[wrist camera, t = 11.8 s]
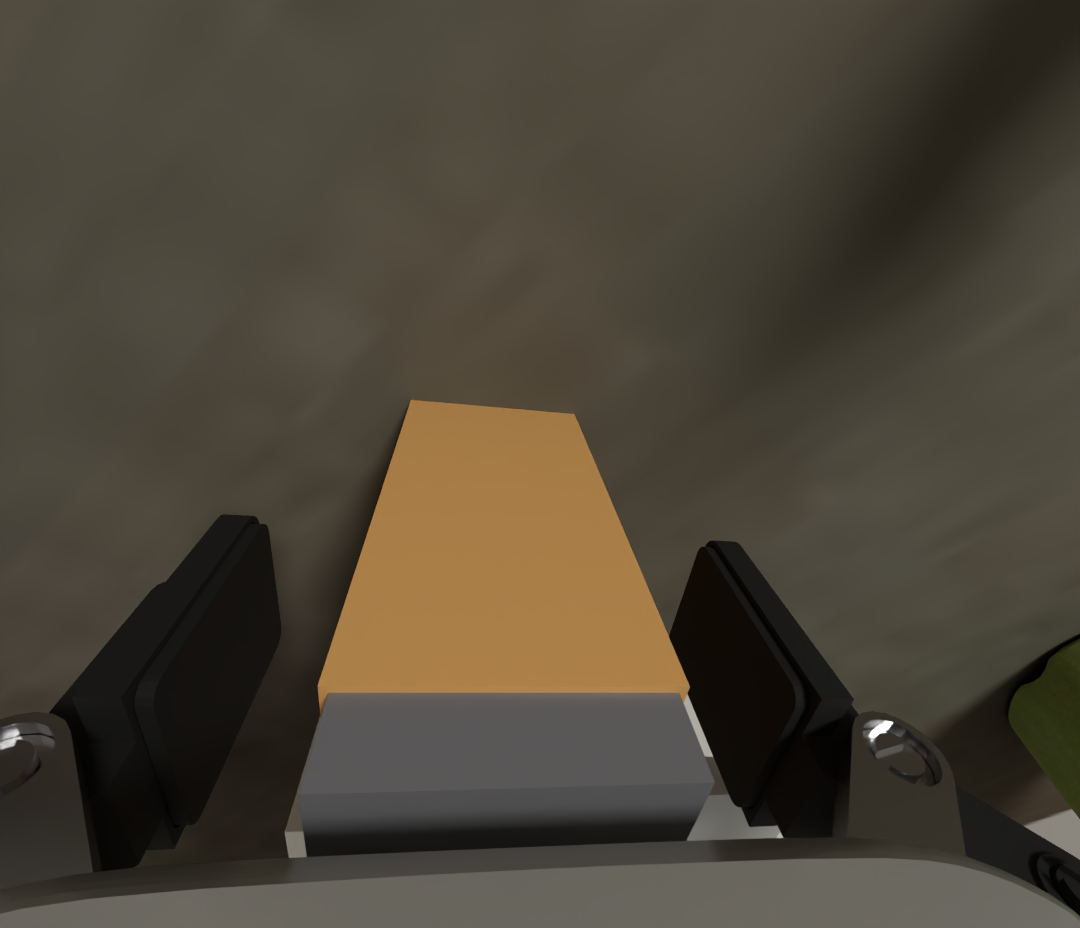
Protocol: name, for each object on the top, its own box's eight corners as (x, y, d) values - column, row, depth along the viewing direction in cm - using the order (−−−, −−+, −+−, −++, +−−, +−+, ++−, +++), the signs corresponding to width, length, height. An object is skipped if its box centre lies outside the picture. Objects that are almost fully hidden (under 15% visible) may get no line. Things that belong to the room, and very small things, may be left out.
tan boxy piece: (407, 565, 14) (321, 1016, 7) (410, 399, 12) (284, 787, 4) (546, 570, 15) (619, 988, 7) (574, 414, 13) (728, 775, 5)
